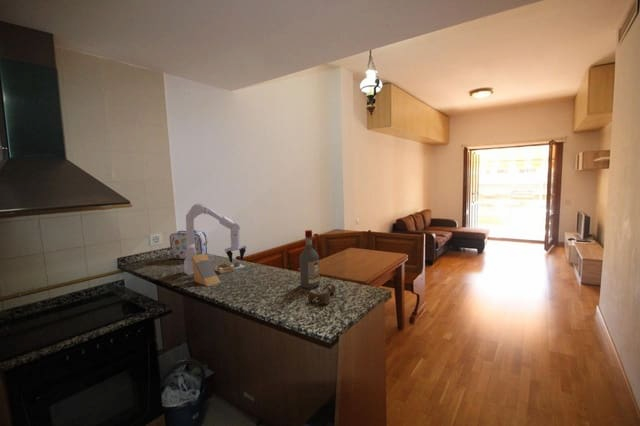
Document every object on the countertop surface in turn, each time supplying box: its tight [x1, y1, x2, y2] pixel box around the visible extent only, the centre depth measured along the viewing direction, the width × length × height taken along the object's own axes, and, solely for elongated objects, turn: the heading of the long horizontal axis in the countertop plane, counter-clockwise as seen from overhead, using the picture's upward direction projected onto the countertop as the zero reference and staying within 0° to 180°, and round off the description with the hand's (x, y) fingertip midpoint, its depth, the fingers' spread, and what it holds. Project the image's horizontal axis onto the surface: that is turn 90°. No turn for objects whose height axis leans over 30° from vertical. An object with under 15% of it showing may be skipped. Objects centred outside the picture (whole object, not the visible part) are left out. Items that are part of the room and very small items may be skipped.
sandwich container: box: [192, 253, 221, 287], centre depth 177 cm, size 9×15×15 cm, turn 49°
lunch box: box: [169, 229, 209, 260], centre depth 230 cm, size 28×10×22 cm, turn 81°
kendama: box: [307, 283, 336, 306], centre depth 147 cm, size 6×10×20 cm
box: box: [214, 262, 235, 275], centre depth 198 cm, size 10×8×3 cm
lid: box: [231, 261, 246, 270], centre depth 207 cm, size 10×8×3 cm
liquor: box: [299, 229, 321, 289], centre depth 166 cm, size 9×9×30 cm
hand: (236, 260), depth 206 cm, fingers open, 7 cm apart
